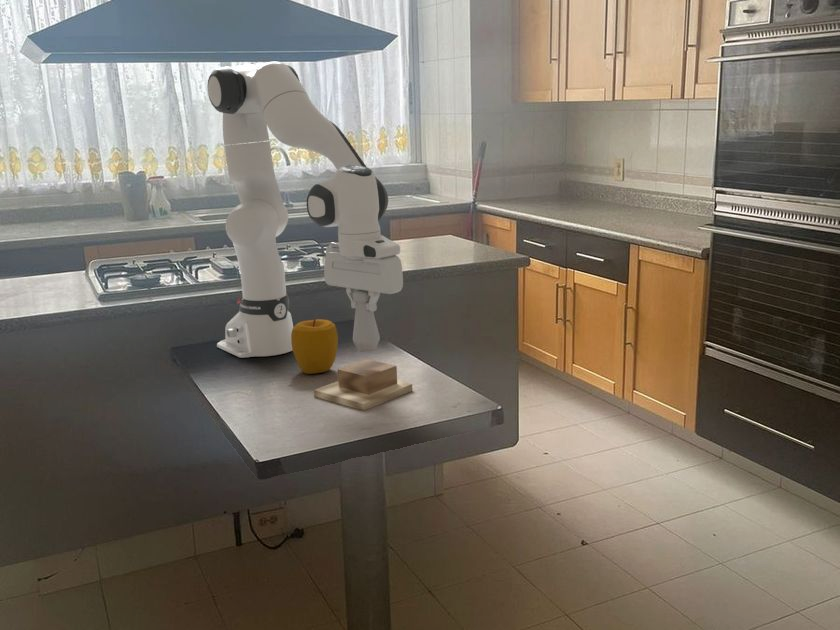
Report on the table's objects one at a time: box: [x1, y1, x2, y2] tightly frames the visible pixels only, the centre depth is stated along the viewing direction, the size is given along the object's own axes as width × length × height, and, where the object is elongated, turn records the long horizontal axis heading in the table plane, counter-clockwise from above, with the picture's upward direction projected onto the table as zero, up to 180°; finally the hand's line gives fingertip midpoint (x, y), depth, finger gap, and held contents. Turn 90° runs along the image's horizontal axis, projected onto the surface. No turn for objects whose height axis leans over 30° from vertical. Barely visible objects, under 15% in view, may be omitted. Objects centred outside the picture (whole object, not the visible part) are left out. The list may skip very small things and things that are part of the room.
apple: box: [291, 318, 339, 375], centre depth 190 cm, size 11×11×13 cm
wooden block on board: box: [313, 358, 413, 411], centre depth 174 cm, size 15×15×6 cm
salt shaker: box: [352, 290, 381, 353], centre depth 172 cm, size 6×6×13 cm
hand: (364, 309), depth 172 cm, fingers closed on salt shaker, 3 cm apart
